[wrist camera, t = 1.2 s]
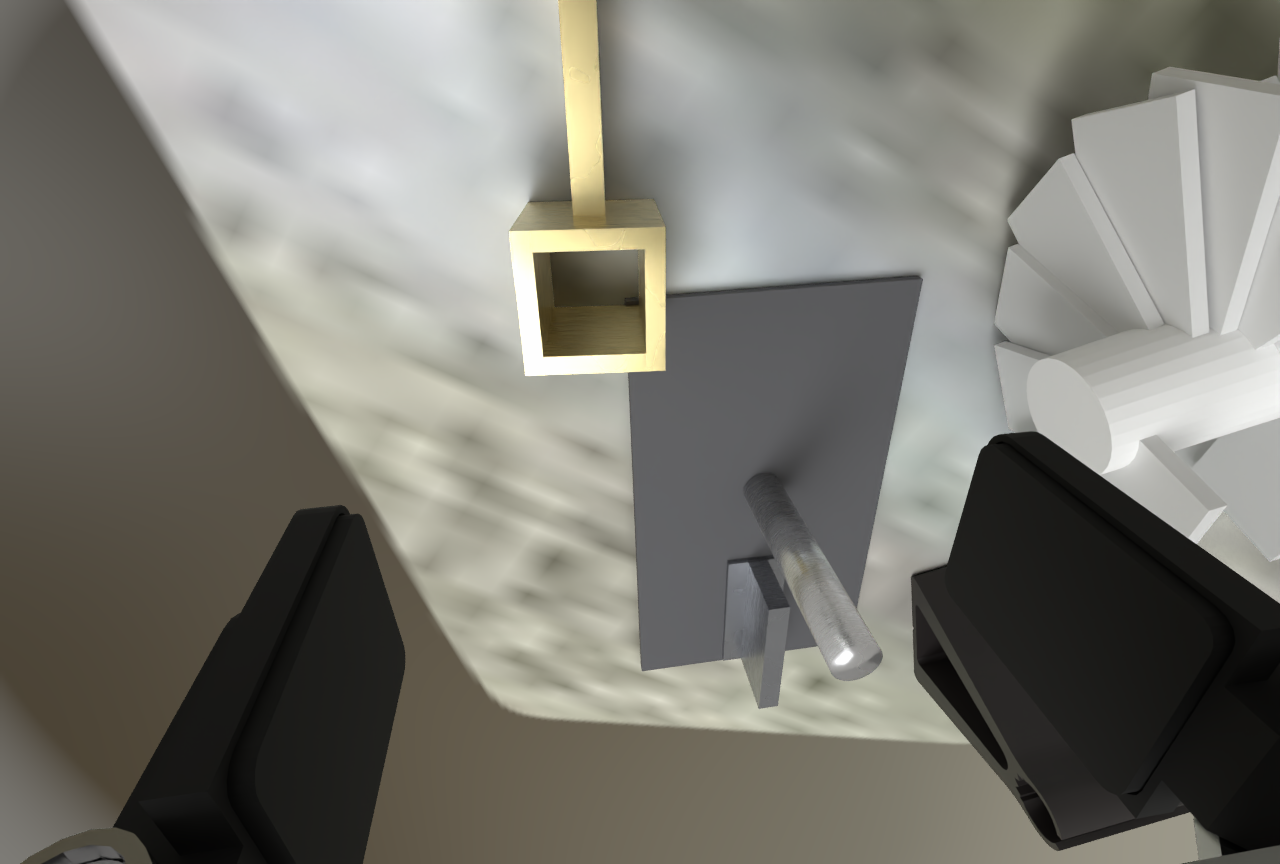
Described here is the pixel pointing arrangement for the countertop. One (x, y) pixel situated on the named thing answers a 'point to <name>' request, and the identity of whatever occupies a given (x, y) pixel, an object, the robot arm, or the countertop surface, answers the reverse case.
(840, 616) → the fixed leaf
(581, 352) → the loose leaf
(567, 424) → the countertop surface
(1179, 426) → the spiral staircase
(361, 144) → the countertop surface
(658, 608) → the mat
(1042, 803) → the phone stand
